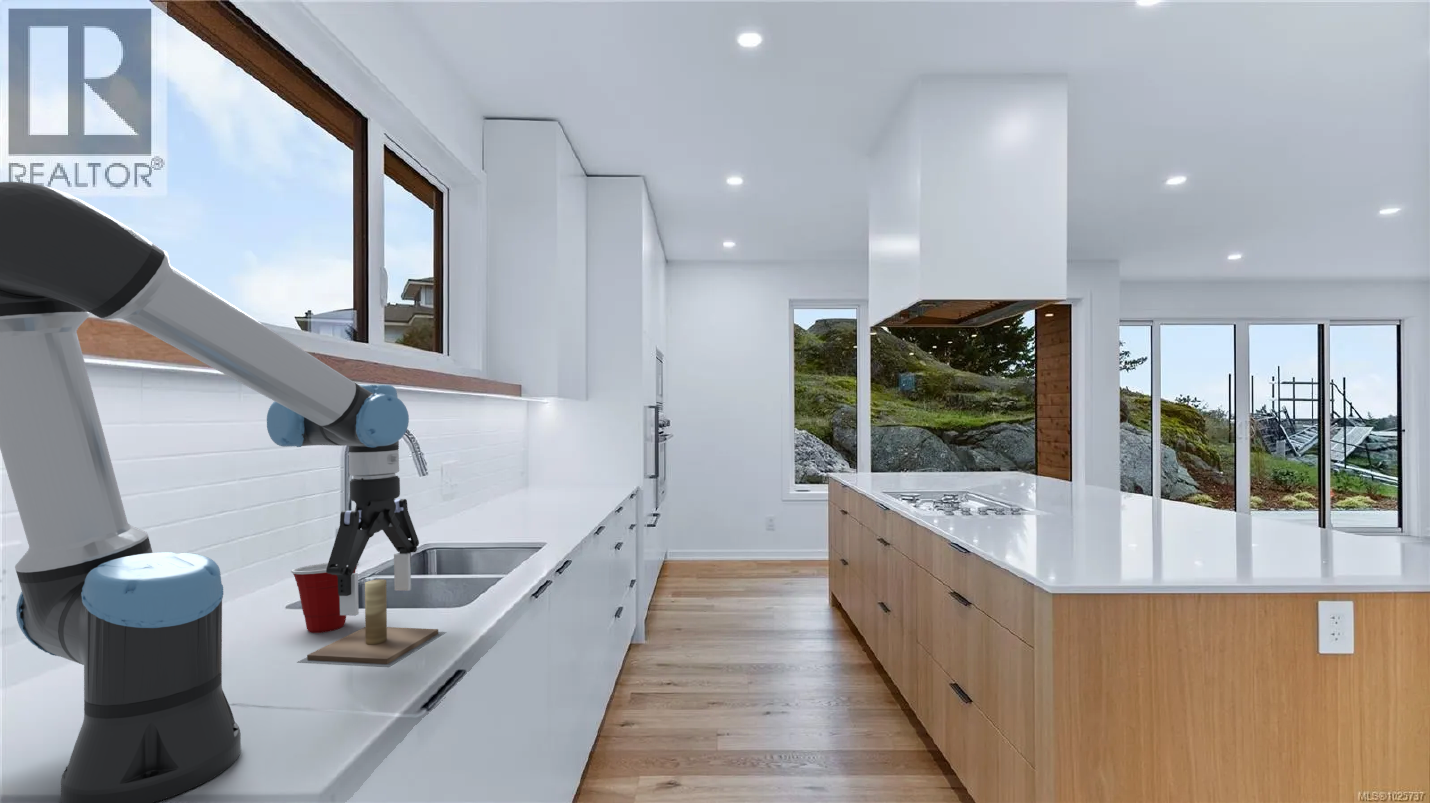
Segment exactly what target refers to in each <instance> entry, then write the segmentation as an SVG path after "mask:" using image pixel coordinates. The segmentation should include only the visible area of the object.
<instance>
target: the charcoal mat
mask: <svg viewBox="0 0 1430 803" xmlns="http://www.w3.org/2000/svg"><path fill="white" fill-rule="evenodd" d="M446 633H447V631H438V634H437V635H435V636H434V637H432V638H430V639H429V640H427V641H425V642H424V643H422V644H420V645H418V646H417V647H415V648H413V649H412V650H410V651H408V652H407V653H405V654H403V655H402V656H400V657H398V658H397V659H395V660H393V661H392V662H390V663H388V664H375V663H355V662H335V661H315V660H307V657H304V658H302V659H301V660H298V661H296V663H300V664H319V665H320V664H321V665H335V666H336V665H338V666H357V667H358V666H360V667H375V668H376V667H379V668H390V667H391V666H393V665H395V664H396V663H399V662H400V661H402V660H403V659H405V658H406V657H408V656H410V655H411V654H413V653H415V652H417V651H418V650H419V649H423V647H425V646H426V645H428V644H430V643H431V642H433V641H434V640H437V638H440V637H441V636H443V635H444V634H446Z"/></svg>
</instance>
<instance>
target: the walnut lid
mask: <svg viewBox="0 0 1430 803" xmlns="http://www.w3.org/2000/svg"><path fill="white" fill-rule="evenodd" d="M364 602H365V604H364V609H365V610H364V612H365V613H364V614H365V615H364V618H365V621H364V624H365V625H364V626H365V627H362V628H360V629H359V630H356V631H353V632H352V633H350V634H347V635H346V636H344V637H342V638H340V639H337V640H335V641H333V642H331V643H329V644H328V645H325V646H323V647H321V648H319V649H317V650H315V651H312V652H311V653H308V654H307V655H306V656H307V660H315V661H335V662H355V663H375V664H388V663H390V662H392V661H393V660H395V659H397V658H398V657H400V656H402V655H403V654H405V653H407V652H408V651H410V650H412V649H413V648H415V647H417V646H418V645H420V644H422V643H424V642H425V641H427V640H429V639H430V638H432V637H434V636H435V635H437V634H438V632H439V629H438V628H418V627H416V628H415V627H398V626H397V627H393V626H392V627H391V626H388V625H387V624H388V620H387V618H388V617H387V614H388V611H387V609H388V606H387V603H388V601H387V580H386V579H383V578H382V579H379V578H378V579H373V580H369V581H366V582H364Z"/></svg>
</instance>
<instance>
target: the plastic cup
mask: <svg viewBox="0 0 1430 803" xmlns="http://www.w3.org/2000/svg"><path fill="white" fill-rule="evenodd" d="M359 564H360V561H359V562H358V564H357V566H356V568H355V570H354V572H353V573H356V570H357V568H358V566H359ZM327 565H328V562H325V563H317V564H310V565H304V566H299V567H296V568H293V569H291V570H290V573H291V574H292V575H293V576H294V579H295V582H296V587H297V589H298V594H299V599H300V603H301V608H302V614H303V616H304V619H305V620H304V621H305V626H306V627H305V628H306V630H307V631H308V633H313V634H321V633H322V634H323V633H329V632H333V631H336V630H337V631H338V630H340V629H342V628H344V626H345V624H346V620H347V615H340V596H339V594H338V577H337V575H332V574H328V573H327V572H326V569H327ZM336 566H337V564H336ZM347 567H348V565H347Z"/></svg>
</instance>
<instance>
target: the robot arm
mask: <svg viewBox="0 0 1430 803" xmlns="http://www.w3.org/2000/svg"><path fill="white" fill-rule="evenodd" d="M90 314H92V315H94V316H95V317H98V318H100V319H101V320H104V321H105V320H106V321H107V320H114V319H122V320H123V321H125V322H127V323H130V324H131V325H132V326H134V327H137V328H138V329H141V330H142V331H144V332H145V333H147V334H149V335H151V336H154V337H155V338H157V339H159V340H161V341H163V342H164V343H167V345H169V346H172V347H173V348H176V349H177V350H180V351H181V352H183V353H185V354H186V355H187V356H188V355H189V356H190V357H192V358H194V359H196V360H198V361H200V362H201V363H203V364H205V365H207V366H209V367H211V369H214V370H216V371H218V372H220V373H222V374H224V375H225V376H227V377H229V378H231V379H233V380H235V381H237V382H238V383H240V384H242V385H244V386H245V387H247V388H250V389H251V390H253V391H255V392H257V393H259V394H261V395H263V396H264V397H266V398H268V399H270V400H271V401H273V402H272V403H271V404H270V406H269V408H268V411H267V413H266V414H267V415H266V428H267V429H266V430H267V433H268V435H269V437H270V439H271V441H272V442H273V443H274V444H275V445H277V446H279V447H297V448H301V447H306V446H307V447H308V446H310V447H311V446H336V447H337V446H339V447H340V446H341V447H342V446H348V451H349V452H348V475H349V476H351V477H353V478H351V479H350V480H349V500H350V501H352V502H354V503H355V509H354V510H342V511H341V512H340V516H339V518H340V519H339V526H338V529H337V530H338V531H337V532H336V535H335V539H334V543H333V546H332V549H331V552H330V556H329V559H328V562H327V563H328V565H327V569H326V572H327V573H328V574H332V575H337V577H338V594H339V596H340V615H346V616H350V617H351V616H354V617H355V616H357V615H359V614H360V613H359V573H358V572H357V573H356V572H355V573H353V572H354V570H355V568H356V569H357V567H358V566H357V564H358V562H359V563H360V559H361V557H362V555H363V553H364V550H366V546H367V545H368V542H369V540H370V539H371V538H372V537H374V535H375V534H376V533H379V532H380V531H383V533H384V534H385V536H386V537H387V539H388V540H389V541H390V543H391V544H392V546H393V547H394V549H395V550H396V553H394V554H393V575H394V578H393V579H394V581H393V582H394V584H393V585H394V591H400V592H401V591H404V592H405V591H406V592H409V591H411V590H412V579H411V578H412V574H411V572H412V570H411V569H412V554H411V553H416V552H417V550H418V547H419V545H420V539H419V537H418V535H417V533H416V530H415V527H414V524H413V520H412V518H411V516H410V513H409V510H408V508H409V507H408V501H407V500H408V499H406V498H399V497H400V495H401V480H400V479H401V478H400V477H399V476H398V475H396V474H398V473H399V472H400V457H399V456H400V455H399V453H400V452H399V447H400V446H399V444H400V442H399V441H400V440H401V439H402V438H403V437H404V435H405V434H406V433H407V430H408V427H409V422H410V418H409V411H408V409H407V406H406V405H405V403H404V402H403V401H402V400H401V399H400V398H398V392H397V388H396V387H395V386H393V385H389V384H357V382H355V381H353V380H351V379H350V378H348V377H346V376H345V375H344V374H342V373H340V372H339V371H337V370H336V369H334V368H332V367H331V366H329V365H327V364H326V363H324V362H323V361H321V360H320V359H318V358H317V357H315V356H314V355H312V354H310V353H309V352H308V351H306V350H304V349H303V348H301V347H300V346H298V345H296V344H295V343H293V342H291V341H290V340H288V339H286V338H285V337H283V336H282V335H280V334H279V333H277V332H276V331H274V330H273V329H272V328H269V327H268V326H267V325H265V324H263V323H261V322H260V321H258V320H257V319H256V318H254V317H252V316H251V315H249V314H248V313H246V312H245V311H243V310H241V309H240V308H238V307H236V305H233V304H232V303H230V302H228V301H227V300H226V299H224V298H222V297H220V296H219V295H218V294H216V293H215V292H212V291H211V290H210V289H208V288H207V287H205V286H203V285H202V284H200V283H199V282H197V281H196V280H194V279H192V278H191V277H189V276H188V275H186V274H185V273H183V272H182V271H179V270H178V269H176V268H175V267H173V266H172V265H171V262H170V259H169V253H168V252H167V251H166V250H164V249H162V248H161V247H159V246H158V245H156V244H155V243H153V242H152V241H150V240H148V238H146V237H145V236H143V235H141V234H140V233H138V232H136V231H135V230H133V229H132V228H130V227H129V226H126V225H125V224H124V223H122V222H120V221H118V220H117V219H115V218H114V217H112V216H110V215H109V214H107V213H105V212H104V211H102V210H100V209H98V208H96V207H94V206H93V205H91V204H90V203H87V202H85V201H84V200H82V199H79V198H77V197H75V196H73V195H72V194H69V193H67V192H64V191H60V190H58V189H56V188H53V187H49V186H45V185H42V184H36V183H33V182H23V181H1V182H0V453H1V456H2V460H3V463H4V467H5V470H6V473H7V477H8V480H9V483H10V487H11V490H12V494H13V497H14V501H15V504H16V506H17V511H18V513H19V517H20V520H21V524H22V527H23V530H24V533H25V537H26V540H27V543H28V549H27V551H26V553H24V555H23V556H22V557H21V558H20V559H19V560H18V561H17V563H16V564H15V566H14V568H15V572H16V576H17V578H18V582H19V586H20V589H21V592H20V595H19V596H18V599H17V604H16V610H15V615H16V621H17V624H18V627H19V628H20V631H21V632H22V634H24V636H25V637H26V638H25V639H27V640H28V642H30V643H31V644H32V645H34V647H37V649H39V650H41V651H43V652H44V653H47V654H49V655H51V656H55V657H60V658H64V659H65V660H69V661H72V662H74V663H76V664H80V665H83V700H84V705H83V715H84V716H83V722H82V723H81V724H82V725H81V727H80V730H79V732H78V735H77V737H76V741H75V744H74V746H73V749H72V753H71V756H70V758H69V761H68V764H67V766H66V767H65V770H64V771H63V773H62V775H61V779H60V803H156V802H159V801H162V800H166V799H168V798H171V797H175V796H177V795H179V794H182V793H184V792H186V791H189V790H192V789H194V788H197V787H198V786H200V785H203V783H206V782H208V781H210V780H211V779H213V778H216V777H217V776H218V775H220V774H221V773H223V772H224V771H226V770H227V769H228V768H230V767H231V766H232V765H233V764H234V763H235V762H236V761H237V759H238V758H239V756H240V754H241V751H242V749H241V747H242V746H241V742H242V741H241V740H242V738H241V730H240V727H239V725H238V723H237V722H236V721H235V718H234V714H233V711H232V709H231V706H230V704H229V702H228V699H227V696H226V694H225V692H224V690H223V680H222V679H223V678H222V677H223V675H222V674H223V670H222V669H223V662H222V661H223V660H222V659H223V654H222V653H223V650H222V649H223V598H224V585H223V584H222V576H221V570H220V567H219V565H218V563H217V562H216V561H215V560H213V559H212V558H210V557H208V556H205V555H201V554H198V553H191V552H181V553H175V552H173V551H172V552H171V551H166V552H165V551H164V552H161V551H159V552H153V550H152V548H153V547H152V546H151V541H150V537H149V534H148V532H147V531H145V530H142V529H141V528H137V527H134V526H133V525H131V524H130V523H128V519H127V515H126V512H125V507H124V503H123V500H122V496H121V493H120V490H119V489H120V488H119V486H118V482H117V478H116V474H115V471H114V467H113V463H112V459H111V456H110V452H109V449H108V444H107V441H106V438H105V433H104V429H103V426H102V423H101V418H100V415H99V411H98V407H97V404H96V400H95V395H94V392H93V389H92V385H91V381H90V377H89V374H88V370H87V366H86V363H85V362H86V361H85V358H84V355H83V351H82V348H81V344H80V340H79V337H78V333H77V331H78V329H79V328H80V326H82V324H84V322H85V321H86V320H87V319H88V318H89V317H90ZM397 552H398V553H397ZM336 564H337V566H336ZM347 565H348V567H347ZM356 566H357V567H356Z"/></svg>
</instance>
